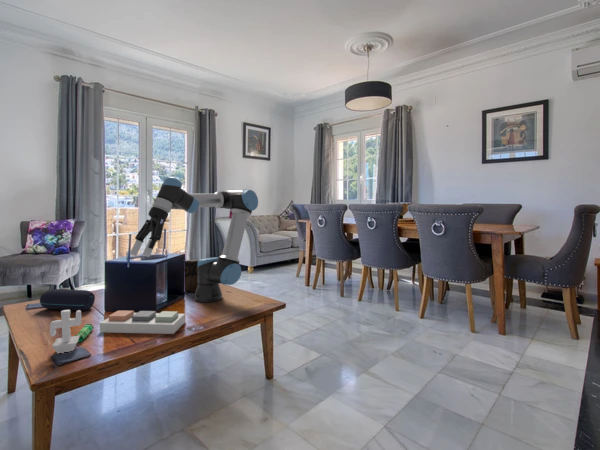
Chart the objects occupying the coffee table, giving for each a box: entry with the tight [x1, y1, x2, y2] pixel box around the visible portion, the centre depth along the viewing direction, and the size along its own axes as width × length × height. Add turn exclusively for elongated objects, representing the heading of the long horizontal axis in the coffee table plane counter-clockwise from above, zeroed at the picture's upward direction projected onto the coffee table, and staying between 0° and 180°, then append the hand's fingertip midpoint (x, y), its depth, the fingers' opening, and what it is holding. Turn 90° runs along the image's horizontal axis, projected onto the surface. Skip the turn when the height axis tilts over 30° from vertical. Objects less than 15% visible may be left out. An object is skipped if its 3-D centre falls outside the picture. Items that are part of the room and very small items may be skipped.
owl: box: [184, 259, 200, 294], centre depth 196 cm, size 13×13×20 cm
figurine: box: [49, 310, 82, 355], centre depth 118 cm, size 7×9×15 cm
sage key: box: [155, 310, 179, 322], centre depth 140 cm, size 7×7×3 cm
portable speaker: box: [39, 288, 96, 312], centre depth 162 cm, size 25×10×10 cm, turn 84°
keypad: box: [99, 312, 186, 335], centre depth 141 cm, size 13×31×4 cm, turn 89°
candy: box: [74, 323, 95, 344], centre depth 130 cm, size 12×3×4 cm
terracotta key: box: [108, 309, 135, 321], centre depth 141 cm, size 7×7×3 cm
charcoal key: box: [132, 310, 157, 322], centre depth 140 cm, size 7×7×3 cm
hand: (139, 255), depth 133 cm, fingers open, 13 cm apart
